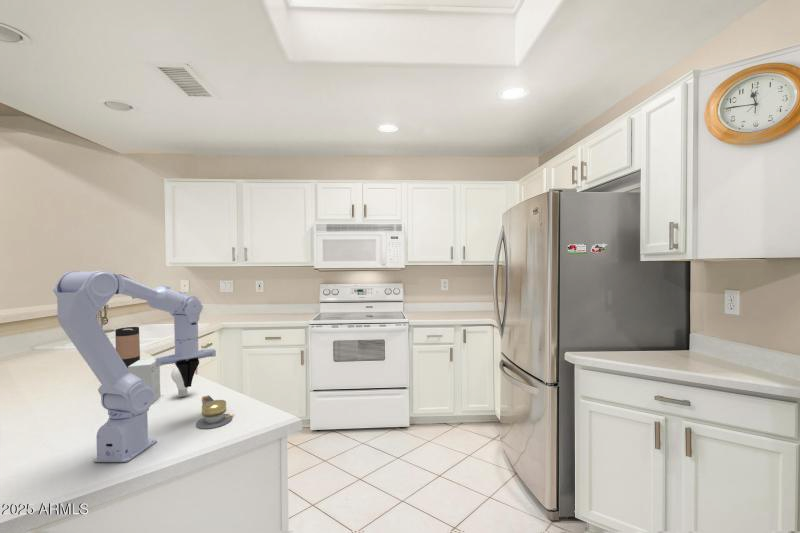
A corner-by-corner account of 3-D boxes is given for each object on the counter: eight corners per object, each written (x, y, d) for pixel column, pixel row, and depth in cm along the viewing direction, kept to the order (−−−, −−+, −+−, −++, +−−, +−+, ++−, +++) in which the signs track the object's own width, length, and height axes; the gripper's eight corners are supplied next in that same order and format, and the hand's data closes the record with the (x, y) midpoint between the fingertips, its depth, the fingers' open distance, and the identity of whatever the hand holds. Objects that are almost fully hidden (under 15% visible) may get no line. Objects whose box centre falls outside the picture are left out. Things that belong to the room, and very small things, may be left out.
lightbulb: (183, 400, 114) (182, 367, 114) (167, 399, 115) (166, 366, 115) (198, 393, 120) (197, 361, 120) (182, 392, 121) (182, 361, 121)
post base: (221, 429, 93) (221, 420, 93) (188, 429, 94) (188, 420, 94) (238, 414, 102) (238, 406, 102) (208, 414, 103) (208, 406, 103)
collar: (229, 412, 98) (228, 403, 98) (205, 419, 94) (205, 410, 94) (216, 400, 107) (216, 392, 107) (194, 406, 103) (194, 398, 102)
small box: (139, 398, 117) (138, 359, 117) (161, 396, 119) (160, 357, 119) (128, 407, 109) (127, 366, 109) (151, 404, 111) (150, 364, 111)
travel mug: (119, 377, 141) (118, 327, 141) (142, 374, 144) (141, 326, 144) (113, 382, 134) (112, 330, 134) (137, 379, 137) (136, 328, 137)
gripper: (210, 332, 107) (211, 377, 107) (153, 340, 97) (154, 389, 97) (217, 335, 102) (218, 382, 102) (157, 344, 92) (158, 395, 92)
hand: (187, 386), depth 99 cm, fingers closed
